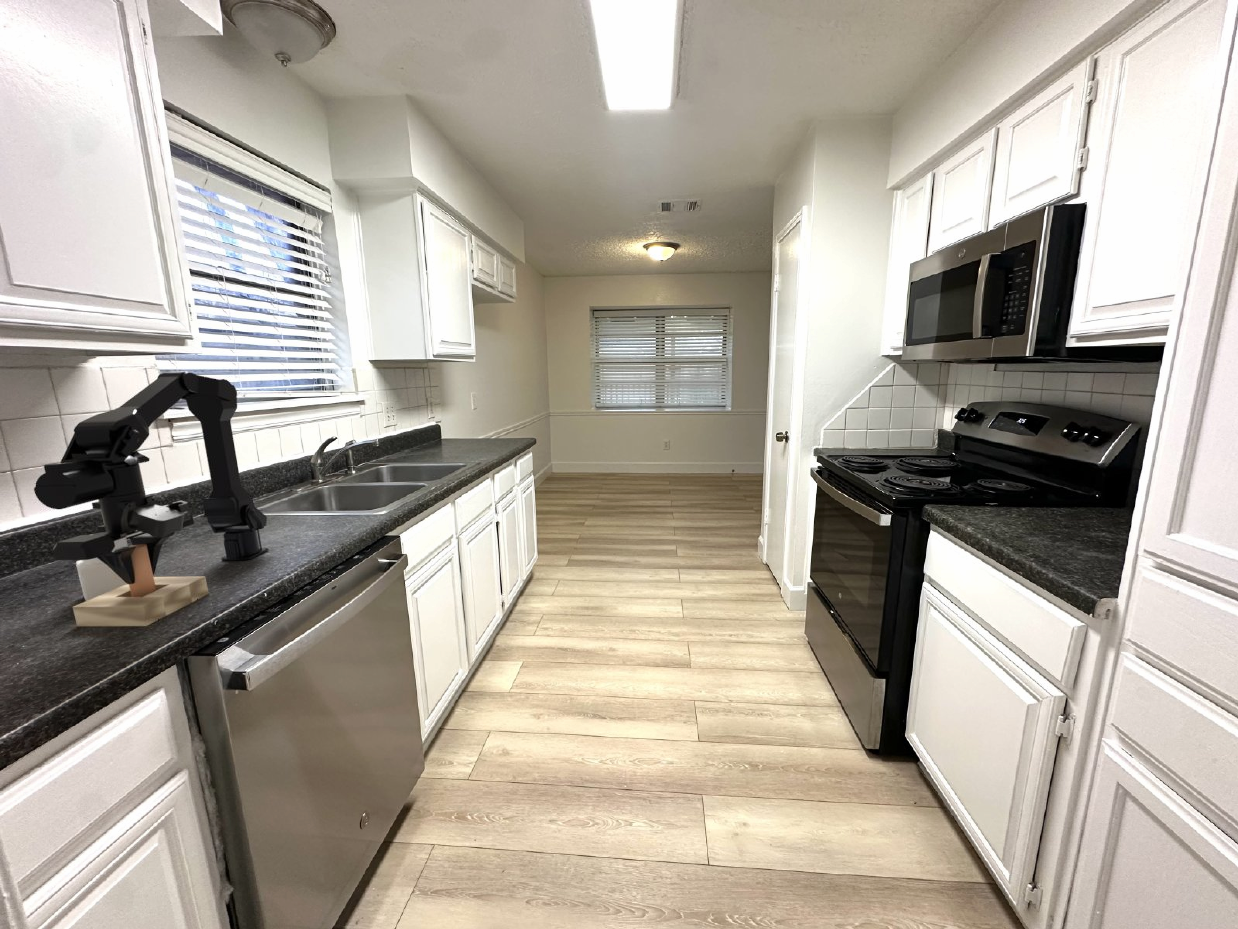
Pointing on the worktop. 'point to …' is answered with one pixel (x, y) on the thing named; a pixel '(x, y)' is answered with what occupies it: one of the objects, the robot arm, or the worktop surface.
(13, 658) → the worktop surface
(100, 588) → the medicine bottle
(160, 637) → the worktop surface
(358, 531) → the worktop surface
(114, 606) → the socket block
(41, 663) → the worktop surface
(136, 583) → the peg
